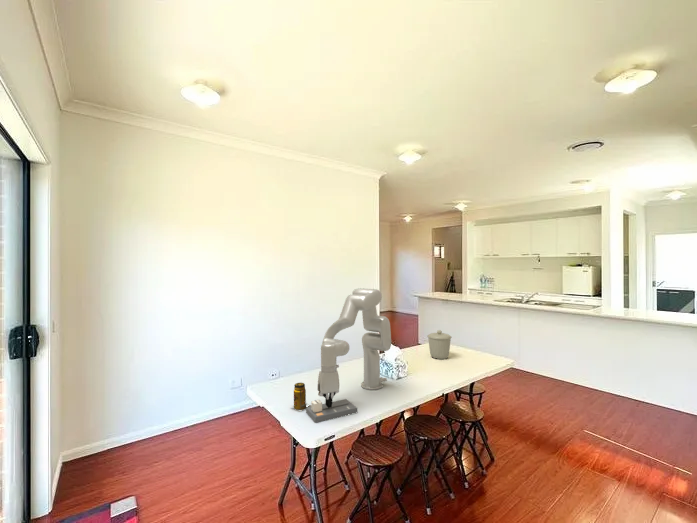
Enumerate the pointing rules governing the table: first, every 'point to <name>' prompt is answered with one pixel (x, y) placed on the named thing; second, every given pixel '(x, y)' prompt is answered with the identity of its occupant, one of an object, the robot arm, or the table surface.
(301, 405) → the condiment
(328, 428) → the table surface
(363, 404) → the table surface
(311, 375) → the table surface
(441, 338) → the canister
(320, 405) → the fader knob
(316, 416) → the fader console
